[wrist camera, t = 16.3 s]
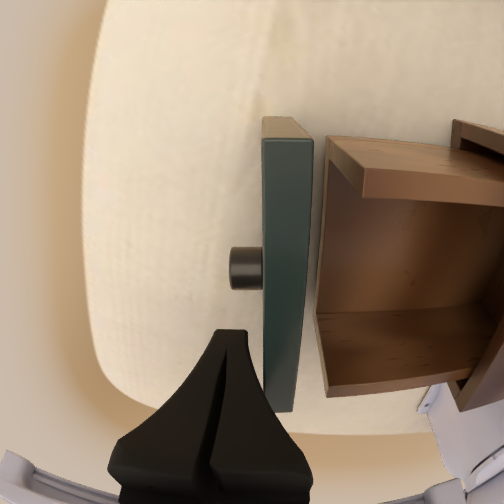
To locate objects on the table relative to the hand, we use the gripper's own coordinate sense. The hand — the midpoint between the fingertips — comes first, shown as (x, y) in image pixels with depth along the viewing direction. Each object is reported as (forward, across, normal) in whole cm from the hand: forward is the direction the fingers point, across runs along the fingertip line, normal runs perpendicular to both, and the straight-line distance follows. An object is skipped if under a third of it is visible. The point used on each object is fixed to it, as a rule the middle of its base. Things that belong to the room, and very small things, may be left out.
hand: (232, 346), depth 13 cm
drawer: (+3, -7, -3) cm, 9 cm away
